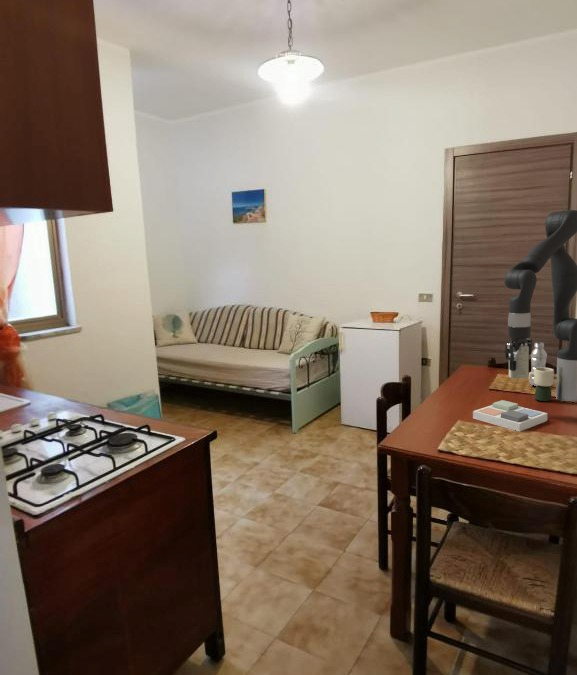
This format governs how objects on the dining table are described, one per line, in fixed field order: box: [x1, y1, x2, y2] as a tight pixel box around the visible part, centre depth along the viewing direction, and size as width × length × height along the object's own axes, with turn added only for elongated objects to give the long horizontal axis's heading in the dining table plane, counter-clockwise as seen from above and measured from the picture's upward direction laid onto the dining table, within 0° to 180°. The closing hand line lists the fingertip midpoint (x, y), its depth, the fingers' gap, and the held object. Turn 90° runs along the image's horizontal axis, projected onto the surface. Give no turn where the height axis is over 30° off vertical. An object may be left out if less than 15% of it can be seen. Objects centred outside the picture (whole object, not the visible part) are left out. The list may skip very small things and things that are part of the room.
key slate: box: [517, 408, 542, 417], centre depth 173 cm, size 6×6×2 cm
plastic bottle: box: [528, 341, 548, 386], centre depth 213 cm, size 6×7×20 cm
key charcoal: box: [501, 410, 528, 422], centre depth 168 cm, size 6×6×2 cm
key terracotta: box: [479, 408, 504, 416], centre depth 176 cm, size 6×6×2 cm
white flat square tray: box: [472, 404, 548, 433], centre depth 175 cm, size 17×18×3 cm
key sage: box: [492, 399, 519, 411], centre depth 180 cm, size 6×6×2 cm
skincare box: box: [508, 346, 530, 380], centre depth 178 cm, size 6×4×12 cm
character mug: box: [528, 367, 559, 402], centre depth 195 cm, size 11×7×13 cm, turn 57°
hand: (518, 368), depth 178 cm, fingers closed on skincare box, 7 cm apart
